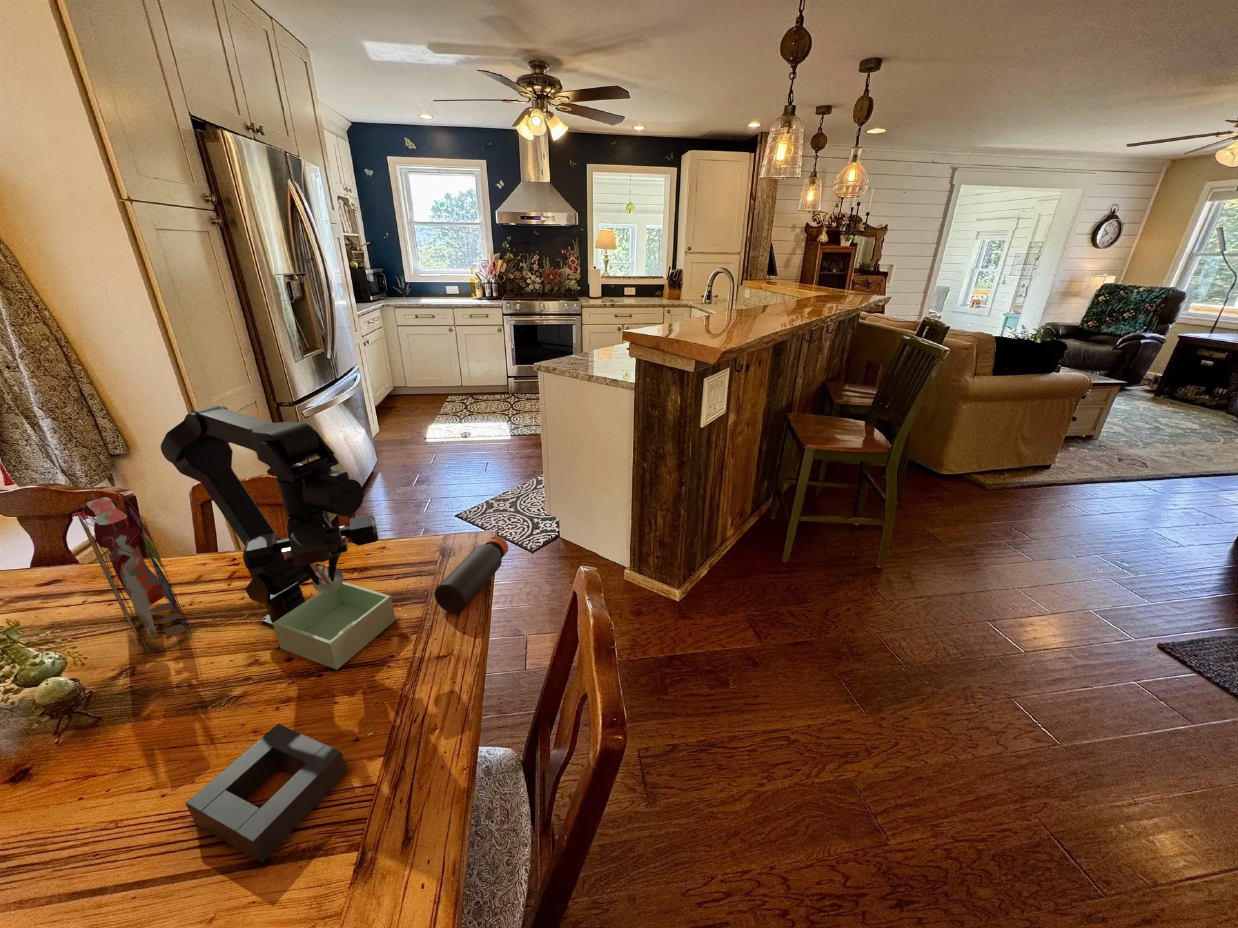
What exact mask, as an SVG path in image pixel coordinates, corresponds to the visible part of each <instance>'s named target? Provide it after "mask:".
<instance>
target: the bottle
mask: <svg viewBox="0 0 1238 928" xmlns="http://www.w3.org/2000/svg"><path fill="white" fill-rule="evenodd" d="M508 552H509V544H508V542H507V541H506V540H505V539H504V538H503V537H500V536H497V535H496V536H492V537H490V538H489V540H488V541H487V542H486V543H483V544H479V545H477V546H476V547H475V548H474V549H473V550H472V551H471V552H470V553H469V554H468V555H467V556H466V557H465V558H464V559H463V560H462V561H461V562H460V563H459V564H458V565H457V566H456V567H455V568H454V569H453V570H452V571H451V572H450V573H449V574H448V575H447V576H446V577H445V578H444V579H443V580H442V581H440V583H439V584H438V585H437V586H436V588H435V589H434V599H435V601H436V604H437V605H438V606H439V607H440V608H441V609H443V611H445V612H447V613H451V614H460V613H461V612H463V611H464V610H465V609H466V608H467V607H468V606H469V604H470V603H471V602H472V601H473V600H474V598H476V596H477V595H478V594H479V593H480V591H481V590H482V589H483V588H484V587H485V585H486V584H487V583H488V582H489V581H490V580H491V579H492V577H493V576H494V575H495V574H496V573H497V571H498V570H500V568H501V567H502V562H503V558H504V557H505V556H506V555H507V553H508Z"/></svg>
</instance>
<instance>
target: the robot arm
mask: <svg viewBox="0 0 1238 928" xmlns="http://www.w3.org/2000/svg"><path fill="white" fill-rule="evenodd" d="M230 444H234V445H235V446H238V447H243V448H245V449H248V450H250V451H253V452H254V453H256V456H257V460H258V461H259V462H262V463H263V464H265V465H267V466H268V467H269V468H268V469H267V470H266V474H267V475H268V476H273V477H275V479H276V482H277V486H278V490H279V493H280V497H281V501H282V504H283V508H284V512H285V516H286V519H287V523H288V526H289V527H288V533H287V536H288V537H287V538H282V537H279V536H278V534H277V533H276V532H275V530H274V529H273V527H272V526H271V525H270V523H269V521H268V520H267V518H266V517H265V516H264V514H263V512H262V510H261V509H260V507H258V505H257V504H256V502H255V500H254V499H253V498H252V496H251V494H250V493H249V492H248V490H247V489H246V488H245V486H244V484H243V483H242V481H241V480H240V478H239V477H238V476H237V474H236V472H235V471H234V470H233V468H232V465H233V454H234V453H233V451H234V450H233V449H232V447H231V445H230ZM160 451H161V453H162V455H163V457H164V458H165V460H166V461H168V462H169V463H171V464H172V465H173V466H174V468H175V469H176V470H177V471H178V473H180V474H181V475H183V476H185V477H188V478H190V479H192V480H195V481H197V482H198V483H200V484H201V485H202V486H203V488H204V489H205V491H206V492H207V494H208V495H209V497H210V498H211V500H212V501H213V503H214V504H215V506H216V507H217V508H218V510H219V511H220V512H221V514H222V516H223V517H224V518H225V520H226V521H227V523H228V524H229V526H230V527H231V529H232V530H233V532H234V533H235V534H236V536H237V538H239V540H240V542H241V543H242V545H243V546H244V549H243V552H242V560H243V563H244V566H245V569H247V571H248V573H249V575H250V576H251V578H252V579H251V580H250V582H249V583H248V584H247V586H246V588H245V589H244V590H245V592H246V594H247V596H248V597H249V599H250V600H251V601H254V602H257V603H259V604H262V605H264V606H265V607H266V610H267V613H268V614H267V615H265V616H264V617H262V618H261V619H260V620H261V623H262V624H266V625H269V626H271V627H273V624H272V623H274V622H275V621H277V620H278V619H280V618H281V617H283V616H284V615H286V614H287V613H289V612H290V611H292V610H293V609H295V608H296V607H298V606H299V605H301V604H302V603H304V602H305V601H306V599H305V596H304V593H303V590H302V587H301V585H302V584H304V583H306V582H308V581H310V580H311V581H312V582H314V583H315V584H316V585H319V578H318V576H317V575H316V573H315V568H314V566H315V564H318V563H324V562H328V567H329V575H330V579H331V582H333V581H334V578H335V572H336V568H337V566H338V561H339V558H340V556H341V554H343V553H347V551H348V550H349V542H348V539H350V538H351V541H352V544H354V545H356V546H358V547H359V546H364V545H368V544H369V545H370V544H373V543H376V542H378V541H379V534H378V528H377V522H376V518H375V516H373V515H372V514H366V515H360V516H356V517H355V516H354V517H351V518H350V517H349V519H348V520H349V521H348V522H349V525H348V526H345V525H340V526H338V525H337V526H333V525H332V520H331V516H330V514H333V515H337V516H341V517H348V516H351V515H353V514H355V513H356V512H357V511H358V510H359V509H360V507H361V506H362V504H363V501H364V498H365V497H364V496H365V490H364V487H363V486H362V485H361V483H360V482H359V481H358V480H356V479H353V478H349V473H348V472H347V470H339V469H338V470H337V469H332V467H335V466H337V465H339V464H340V463H339V460H338V458H337V457H336V456H335V452H334V451H333V449H331V448H330V447H329V445H328V444H327V443H326V442H325V441H324V439H323V438H322V437H321V435H320V434H319V433H318V431H317V430H316V429H314V427H313V426H312V425H310V424H308V423H306V422H303V421H302V422H301V421H281V422H269V421H265V420H262V419H259V418H256V417H253V416H249V415H247V414H243V413H240V412H236V411H233V410H230V409H229V408H228V407H226V406H225V405H212V406H207V407H203V408H199V409H195V410H191V411H190V412H188V413H187V414H186V415H185V417H184V419H183V420H182V421H181V422H180V423H179V424H177V425H175V426H174V427H173V428H171V429H170V430H168V431H167V432H166V434H165V436H164V437H163V439H162V442H161V444H160ZM315 457H318V458H316V459H314V460H311V461H309V460H310V459H313V458H315ZM306 461H309V462H306ZM303 462H306V463H303Z"/></svg>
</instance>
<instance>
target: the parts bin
mask: <svg viewBox="0 0 1238 928" xmlns="http://www.w3.org/2000/svg"><path fill="white" fill-rule="evenodd" d="M396 619H397V618H396V614H395V610H394V605H393V599H392V596H391V595H389V594H385V593H381V592H379V591H375V590H373V589H369V588H365V587H363V586H359V585H355V584H352V583H349V582H345V581H343V583H342V585H341V586H340V588H339V589H338V590H336V591H335V592H332V593H329V594H323V593H320V592H317V593H316V594H314V595H313V596H311V597H310V598H308V599H307V600H305V602H304V603H302V604H301V605H299V606H298V607H296V608H295V609H293V610H292V611H290V612H289V613H287V614H286V615H284V616H283V617H281V618H280V619H278V620H277V621H275V622H274V623H272V624H273V626H272V627H273V630H274V633H275V635H276V639H277V642H278V645H279V648H280V650H284V651H286V652H289V653H291V654H294V655H296V656H299V657H302V658H305V659H307V660H310V661H312V662H315V663H318V664H319V665H320V664H321V665H323V666H325V667H328V668H331V669H333V670H339V669H340V668H341V667H342V666H343V665H344V664H345V663H348V661H350V660H351V659H352V658H353V657H354V656H355V655H356V654H357V653H359V652H360V651H361V650H362V649H363V648H364V647H366V646H367V645H368V644H370V642H372V641H373V640H374V639H375V638H376V637H378V635H380V634H381V633H383V632H384V631H385V630H386V629H387V628H389V626H390V625H392V624H393V623H394V622H395V621H396Z"/></svg>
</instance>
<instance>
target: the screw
mask: <svg viewBox="0 0 1238 928" xmlns="http://www.w3.org/2000/svg"><path fill="white" fill-rule="evenodd" d="M314 564H315V566H314V568H315V573H316V575H317V576H318V578H319V585H316V584H315V583H314V582H313V581H312V587H313V588H314V590H315V591H316V592H317V593H319V592H320V593H323V594H329V593H332V592H335V591H336V590H338V589H339V588H340V586H341V585H342V583H343V582H344V574H343V572H342V571H341V570H340V569H339V568H337V567H336V572H335V578H334V581H333V582H331V579H330V575H329V566H326V565H325V564H321V563H314Z"/></svg>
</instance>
